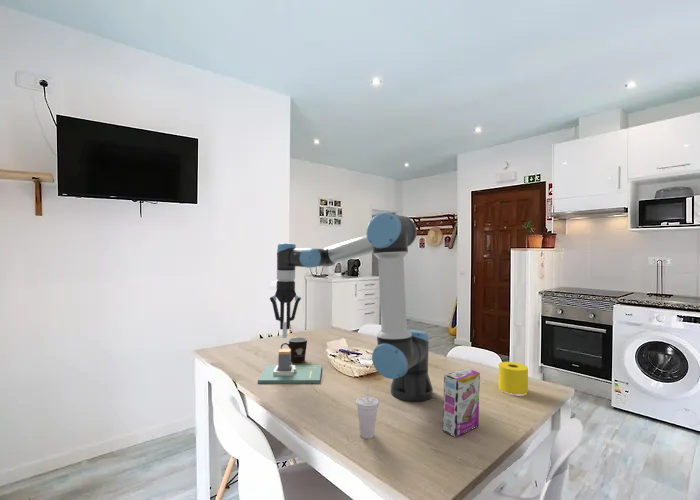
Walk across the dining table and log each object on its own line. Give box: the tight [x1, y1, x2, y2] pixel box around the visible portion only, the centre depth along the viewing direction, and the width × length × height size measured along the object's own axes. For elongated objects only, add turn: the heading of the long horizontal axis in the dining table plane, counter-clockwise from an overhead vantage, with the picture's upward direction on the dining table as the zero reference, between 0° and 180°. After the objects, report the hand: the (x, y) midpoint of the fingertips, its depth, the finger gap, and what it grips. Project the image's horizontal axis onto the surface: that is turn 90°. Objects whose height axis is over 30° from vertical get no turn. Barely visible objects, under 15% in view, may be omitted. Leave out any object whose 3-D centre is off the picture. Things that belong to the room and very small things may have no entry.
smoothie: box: [355, 383, 380, 440], centre depth 98 cm, size 6×6×14 cm
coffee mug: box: [280, 336, 308, 364], centre depth 164 cm, size 12×9×10 cm
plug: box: [277, 348, 292, 371], centre depth 145 cm, size 4×4×9 cm
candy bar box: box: [442, 368, 481, 438], centre depth 102 cm, size 11×5×16 cm, turn 127°
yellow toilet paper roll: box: [498, 361, 529, 394], centre depth 131 cm, size 10×10×9 cm
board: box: [257, 364, 322, 384], centre depth 145 cm, size 18×24×3 cm
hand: (284, 337), depth 145 cm, fingers closed
